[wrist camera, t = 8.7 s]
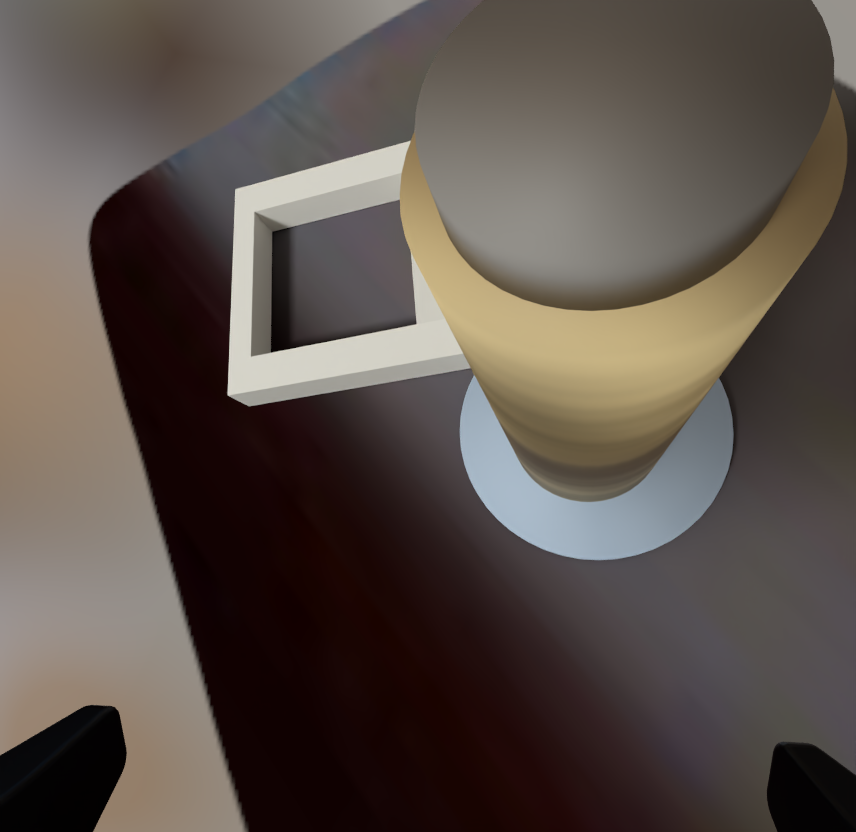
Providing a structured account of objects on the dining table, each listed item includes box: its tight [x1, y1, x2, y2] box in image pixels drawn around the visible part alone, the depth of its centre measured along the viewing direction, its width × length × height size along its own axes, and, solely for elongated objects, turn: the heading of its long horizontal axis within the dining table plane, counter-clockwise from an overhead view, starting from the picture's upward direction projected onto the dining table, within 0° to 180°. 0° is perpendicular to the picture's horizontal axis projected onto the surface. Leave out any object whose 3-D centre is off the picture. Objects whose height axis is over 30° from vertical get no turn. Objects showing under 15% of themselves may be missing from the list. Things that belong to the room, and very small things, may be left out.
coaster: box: [460, 375, 734, 560], centre depth 19 cm, size 9×9×1 cm
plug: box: [400, 0, 847, 502], centre depth 12 cm, size 5×5×14 cm
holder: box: [228, 141, 471, 406], centre depth 21 cm, size 10×18×2 cm, turn 94°
